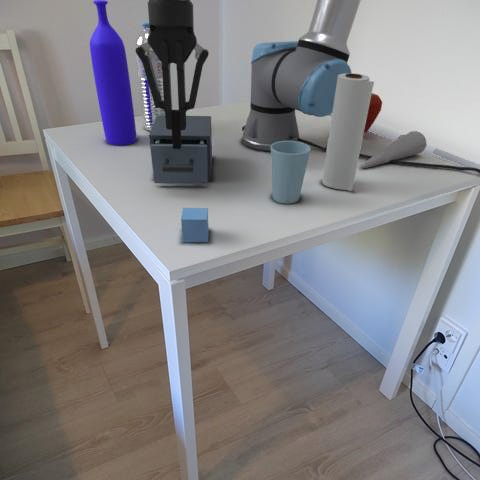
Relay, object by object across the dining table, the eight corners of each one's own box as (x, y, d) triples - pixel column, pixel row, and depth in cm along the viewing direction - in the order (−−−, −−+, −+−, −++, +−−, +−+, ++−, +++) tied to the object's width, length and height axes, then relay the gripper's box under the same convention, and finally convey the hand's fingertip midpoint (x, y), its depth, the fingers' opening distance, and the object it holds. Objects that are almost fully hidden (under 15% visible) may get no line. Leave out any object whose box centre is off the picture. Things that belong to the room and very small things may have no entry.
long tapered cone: (383, 158, 96) (427, 132, 105) (359, 154, 100) (404, 129, 109) (381, 182, 100) (424, 156, 109) (358, 177, 104) (402, 152, 113)
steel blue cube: (208, 230, 77) (207, 207, 75) (207, 242, 74) (207, 219, 71) (184, 230, 77) (182, 207, 74) (182, 242, 74) (180, 219, 71)
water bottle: (156, 123, 126) (146, 20, 110) (173, 128, 123) (165, 23, 107) (139, 128, 121) (126, 22, 105) (156, 133, 119) (145, 25, 102)
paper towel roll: (320, 178, 97) (335, 71, 83) (346, 178, 97) (366, 72, 83) (323, 191, 92) (341, 79, 78) (351, 192, 92) (374, 80, 78)
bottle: (130, 147, 110) (109, 2, 90) (100, 144, 111) (73, 1, 91) (142, 137, 116) (125, 0, 96) (113, 134, 117) (91, -2, 98)
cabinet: (211, 180, 95) (210, 135, 88) (154, 180, 94) (149, 135, 88) (211, 157, 106) (211, 116, 99) (161, 156, 105) (156, 115, 99)
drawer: (207, 193, 87) (206, 155, 82) (151, 193, 87) (146, 154, 82) (209, 160, 101) (208, 126, 96) (161, 160, 101) (157, 125, 96)
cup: (259, 196, 89) (262, 145, 82) (285, 187, 93) (290, 137, 86) (285, 209, 84) (290, 156, 78) (311, 199, 88) (318, 148, 82)
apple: (381, 140, 119) (392, 92, 111) (346, 142, 116) (355, 94, 109) (363, 128, 127) (372, 83, 119) (330, 130, 124) (337, 84, 117)
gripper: (210, 0, 74) (210, 143, 88) (134, -4, 73) (146, 141, 87) (209, 0, 68) (209, 153, 82) (126, -4, 67) (141, 151, 81)
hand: (177, 146), depth 84 cm, fingers closed
